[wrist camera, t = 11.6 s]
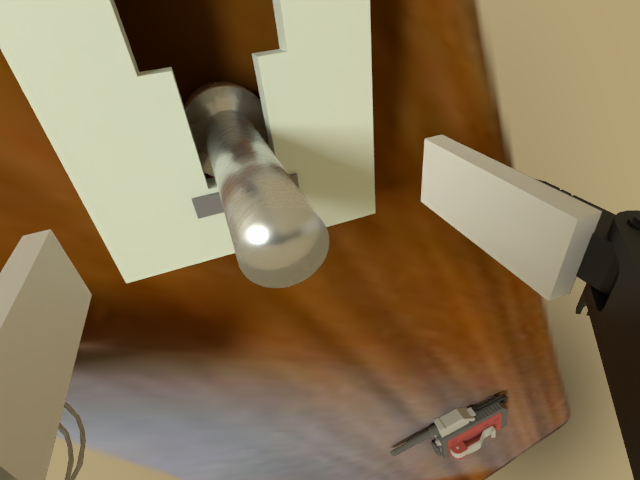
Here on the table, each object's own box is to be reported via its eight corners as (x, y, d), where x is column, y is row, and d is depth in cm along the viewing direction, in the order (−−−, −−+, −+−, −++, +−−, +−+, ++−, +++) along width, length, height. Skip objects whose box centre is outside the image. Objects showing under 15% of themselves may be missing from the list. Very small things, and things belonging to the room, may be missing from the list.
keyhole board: (-73, -188, 14) (-174, -270, 10) (319, -194, 18) (365, -257, 13) (132, 240, 25) (126, 285, 21) (346, 184, 29) (376, 214, 25)
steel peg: (167, 90, 21) (165, 193, 9) (259, 73, 23) (360, 147, 11) (195, 176, 25) (220, 336, 13) (274, 158, 26) (366, 288, 14)
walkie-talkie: (500, 380, 56) (385, 441, 54) (522, 405, 53) (400, 472, 50) (498, 408, 62) (393, 465, 59) (519, 433, 58) (408, 494, 56)
